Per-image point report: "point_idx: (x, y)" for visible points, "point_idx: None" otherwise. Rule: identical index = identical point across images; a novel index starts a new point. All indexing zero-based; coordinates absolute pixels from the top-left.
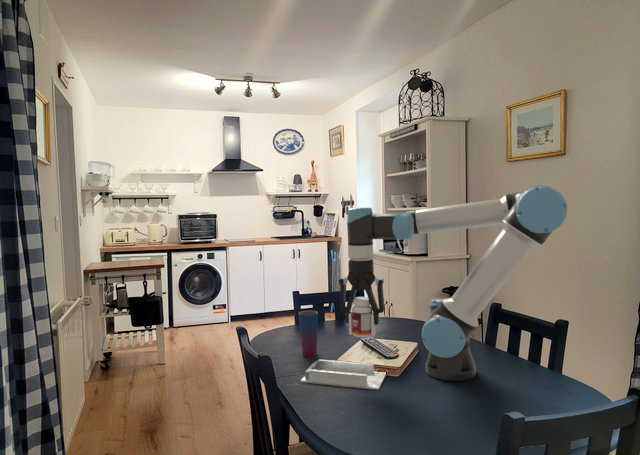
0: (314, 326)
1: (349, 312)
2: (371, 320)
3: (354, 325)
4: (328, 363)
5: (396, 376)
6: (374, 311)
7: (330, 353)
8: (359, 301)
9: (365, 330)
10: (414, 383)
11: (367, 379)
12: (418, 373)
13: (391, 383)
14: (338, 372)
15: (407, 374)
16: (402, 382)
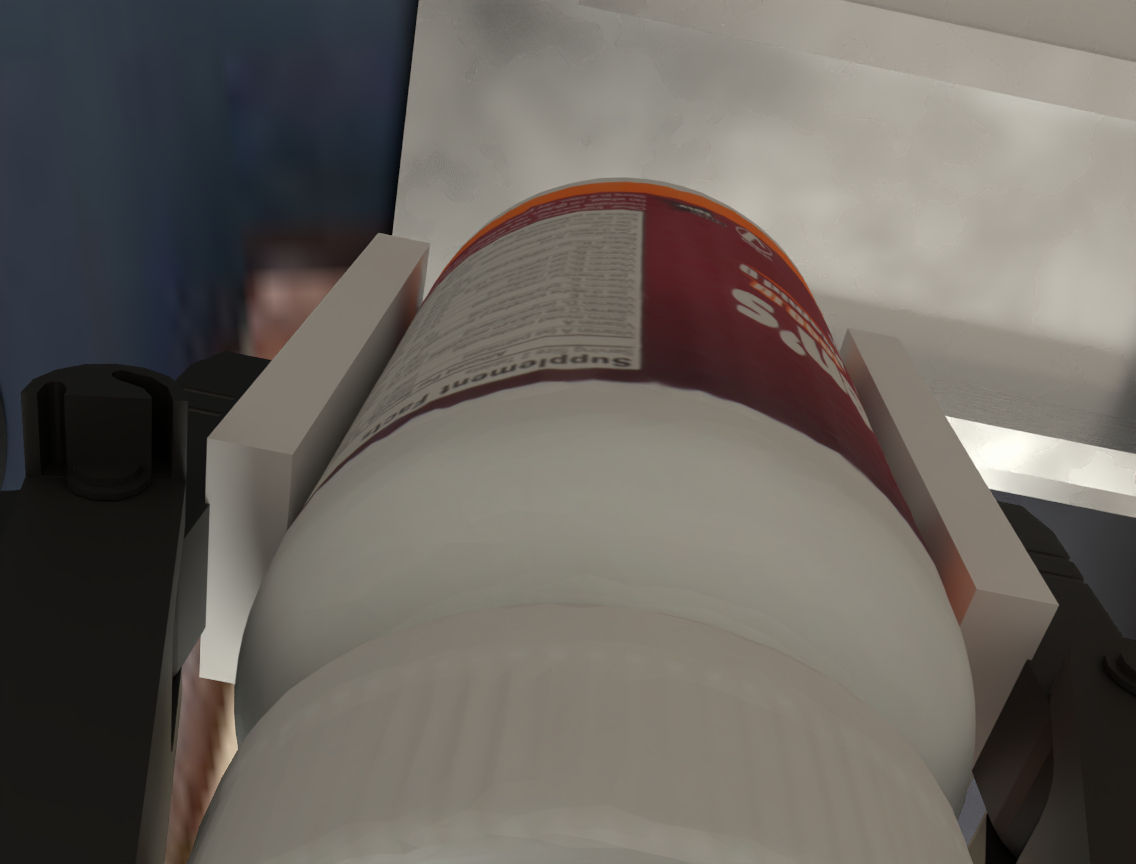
0: None
1: (1027, 685)
2: (334, 375)
3: (820, 327)
4: (1049, 426)
5: (279, 258)
6: (121, 509)
7: (964, 816)
8: (705, 789)
9: (536, 218)
10: (67, 67)
11: (583, 102)
12: (68, 344)
13: (314, 53)
14: (959, 59)
15: (173, 315)
16: (198, 90)
